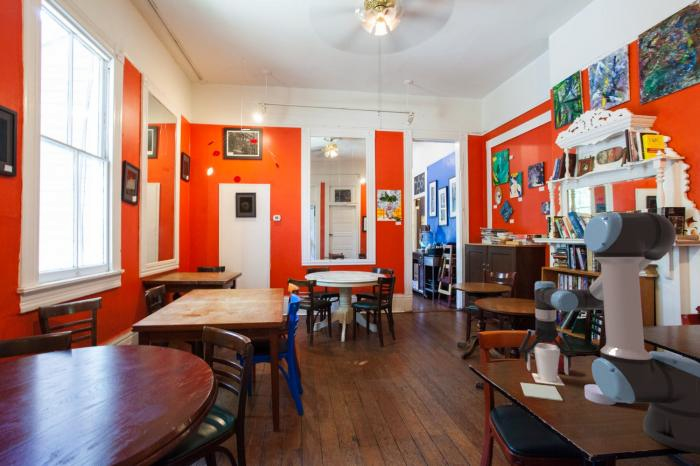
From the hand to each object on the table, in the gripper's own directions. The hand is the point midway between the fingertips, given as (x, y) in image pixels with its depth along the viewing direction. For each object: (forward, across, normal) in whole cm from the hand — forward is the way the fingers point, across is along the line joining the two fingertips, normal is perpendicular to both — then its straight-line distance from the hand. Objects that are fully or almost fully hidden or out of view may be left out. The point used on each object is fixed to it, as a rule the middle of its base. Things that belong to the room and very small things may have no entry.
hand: (547, 371), depth 139 cm
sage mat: (+3, +5, +14) cm, 15 cm away
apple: (+3, -7, -11) cm, 13 cm away
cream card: (+3, 0, 0) cm, 3 cm away
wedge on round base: (+3, -16, +14) cm, 22 cm away
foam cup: (+3, 0, 0) cm, 3 cm away
